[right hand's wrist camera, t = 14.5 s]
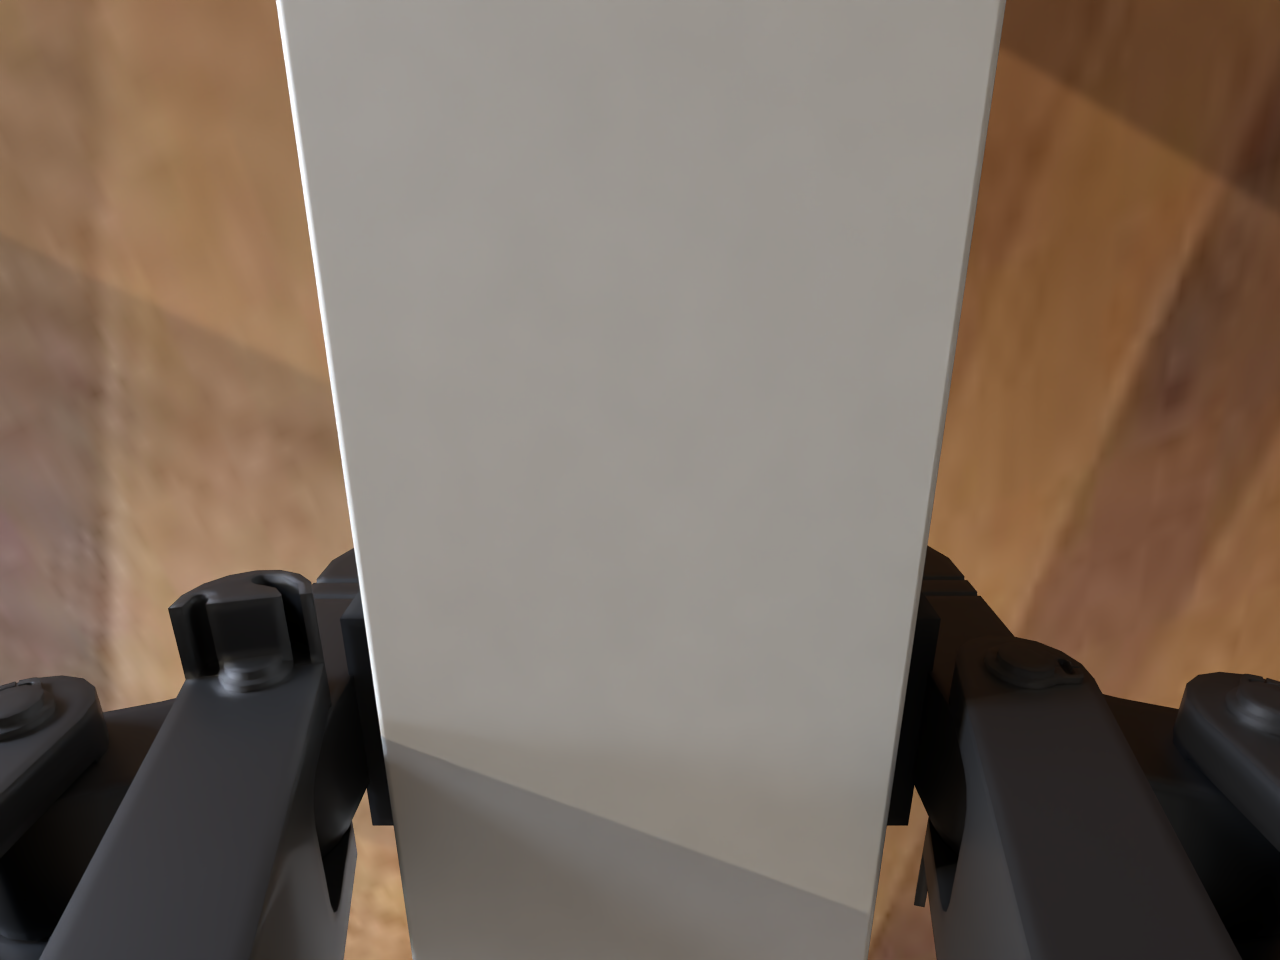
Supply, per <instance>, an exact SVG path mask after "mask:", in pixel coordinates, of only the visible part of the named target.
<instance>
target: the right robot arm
mask: <svg viewBox="0 0 1280 960" xmlns="http://www.w3.org/2000/svg"><path fill="white" fill-rule="evenodd" d="M168 610H169V614H170V618H171V622H172V626H173V630H174V634H175V638H176V642H177V646H178V650H179V654H180V658H181V662H182V666H183V670H184V674H185V678H186V681H185V682H184V684H183V686H182V688H181V690H180V692H179V694H178V696H177V698H174V699H170V700H166V701H162V702H157V703H151V704H146V705H141V706H135V707H130V708H125V709H119V710H114V711H109V712H102V709H101V705H100V702H99V699H98V695H97V692H96V689H95V687H94V686H93V685H92V684H90V683H89V682H88V681H86V680H85V679H83V678H76V677H69V676H53V677H43V678H37V677H36V678H29V679H24V680H19V683H16V682H12V683H9V684H5V685H2V686H0V960H343V959H344V952H345V944H346V936H347V929H348V921H349V913H350V905H351V898H352V890H353V882H354V875H355V867H356V859H357V849H356V842H355V835H354V830H353V824H352V819H353V817H354V814H355V812H356V810H357V808H358V806H359V804H360V801H361V799H362V797H363V795H364V793H365V790H366V788H367V793H368V799H369V805H370V812H371V818H372V824H373V825H394V824H393V817H392V809H391V802H390V795H389V788H388V781H387V774H386V767H385V760H384V753H383V746H382V739H381V732H380V725H379V718H378V711H377V704H376V697H375V690H374V683H373V676H372V669H371V662H370V655H369V648H368V641H367V634H366V627H365V620H364V613H363V606H362V599H361V592H360V585H359V578H358V571H357V564H356V557H355V550H354V548H353V549H351V550H350V551H348V552H346V553H344V554H343V555H341V556H339V557H338V558H336V559H334V560H332V561H331V563H330V564H329V565H328V566H327V568H326V569H325V570H324V571H323V572H322V574H321V575H320V576H319V577H318V578H317V583H313V584H312V585H311V582H310V581H309V580H308V579H306V578H305V577H303V576H302V575H301V574H297V573H293V572H288V571H283V570H257V571H251V572H245V573H239V574H234V575H229V576H226V577H223V578H220V579H217V580H214V581H211V582H208V583H205V584H202V585H200V586H198V587H197V588H195V589H193V590H191V591H189V592H187V593H185V594H184V595H182V596H181V597H180V598H179V599H178V600H176V601H175V602H174V603H173V604H172V605H171V606H170V607H169V608H168ZM914 785H915V787H916V789H917V792H918V794H919V796H920V798H921V800H922V803H923V805H924V807H925V809H926V811H927V813H928V816H929V818H928V824H927V830H926V835H925V841H924V847H923V853H922V859H921V865H920V870H919V876H918V882H917V888H916V895H915V902H914V905H916V906H921V907H925V902H926V896H927V891H928V896H929V904H930V911H931V919H932V927H933V934H934V942H935V950H936V957H937V960H1280V682H1279V681H1276V680H1272V679H1269V678H1267V679H1263V677H1261V676H1256V675H1251V674H1235V673H1225V672H1216V673H1209V674H1202V675H1198V676H1196V677H1195V678H1194V679H1192V680H1191V681H1189V682H1188V683H1187V684H1186V688H1185V691H1184V694H1183V698H1182V701H1181V704H1180V708H1179V709H1175V708H1170V707H1164V706H1159V705H1153V704H1148V703H1143V702H1137V701H1132V700H1127V699H1121V698H1117V697H1113V696H1109V695H1104V694H1102V692H1101V691H1100V689H1099V687H1098V685H1097V683H1096V681H1095V679H1094V678H1093V677H1092V676H1091V674H1090V673H1089V672H1088V671H1087V670H1086V669H1085V667H1084V666H1083V665H1082V664H1081V663H1079V662H1077V661H1076V660H1074V659H1073V658H1071V657H1070V656H1068V655H1066V654H1065V653H1063V652H1062V651H1060V650H1057V649H1054V648H1052V647H1049V646H1047V645H1044V644H1042V643H1039V642H1037V641H1032V640H1027V639H1022V638H1018V637H1014V635H1013V634H1012V633H1011V632H1010V631H1009V629H1008V628H1007V627H1006V626H1005V625H1004V623H1003V622H1002V621H1001V620H1000V619H999V618H998V616H997V615H996V614H995V613H994V612H993V610H992V609H991V608H990V607H989V606H988V604H987V603H986V602H985V601H984V600H983V598H982V597H981V596H977V591H976V590H975V589H974V588H973V586H972V585H971V584H970V583H969V582H968V580H964V576H963V574H962V573H961V572H960V571H959V570H958V568H957V567H956V566H955V565H954V564H953V562H952V561H951V560H950V559H949V558H948V557H946V556H944V555H943V554H941V553H939V552H938V551H936V550H934V549H932V548H931V547H929V546H927V550H926V557H925V564H924V571H923V578H922V585H921V592H920V599H919V606H918V613H917V620H916V626H915V633H914V640H913V647H912V654H911V661H910V668H909V675H908V682H907V689H906V696H905V702H904V709H903V716H902V723H901V730H900V737H899V744H898V751H897V758H896V765H895V772H894V778H893V785H892V792H891V799H890V806H889V813H888V820H887V825H908V821H909V815H910V809H911V803H912V796H913V790H914Z"/></svg>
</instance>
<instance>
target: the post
mask: <svg viewBox="0 0 1280 960" xmlns="http://www.w3.org/2000/svg"><path fill="white" fill-rule="evenodd" d="M276 3H277V10H278V17H279V24H280V31H281V38H282V45H283V52H284V59H285V66H286V73H287V80H288V87H289V94H290V101H291V108H292V115H293V122H294V129H295V136H296V144H297V151H298V158H299V165H300V172H301V179H302V186H303V193H304V200H305V207H306V214H307V221H308V228H309V235H310V242H311V249H312V256H313V263H314V270H315V277H316V284H317V291H318V298H319V305H320V312H321V319H322V326H323V333H324V340H325V347H326V354H327V361H328V368H329V375H330V382H331V389H332V396H333V403H334V410H335V417H336V424H337V431H338V438H339V445H340V452H341V459H342V466H343V473H344V480H345V487H346V494H347V501H348V508H349V515H350V522H351V529H352V536H353V543H354V550H355V557H356V564H357V571H358V578H359V585H360V592H361V599H362V606H363V613H364V620H365V627H366V634H367V641H368V648H369V655H370V662H371V669H372V676H373V683H374V690H375V697H376V704H377V711H378V718H379V725H380V732H381V739H382V746H383V753H384V760H385V767H386V774H387V781H388V788H389V795H390V802H391V809H392V817H393V824H394V831H395V838H396V845H397V852H398V859H399V866H400V873H401V880H402V887H403V894H404V901H405V908H406V915H407V922H408V929H409V936H410V943H411V950H412V957H413V960H867V958H868V951H869V944H870V937H871V930H872V924H873V917H874V910H875V903H876V896H877V889H878V882H879V875H880V868H881V861H882V854H883V848H884V841H885V834H886V827H887V820H888V813H889V806H890V799H891V792H892V785H893V778H894V772H895V765H896V758H897V751H898V744H899V737H900V730H901V723H902V716H903V709H904V702H905V696H906V689H907V682H908V675H909V668H910V661H911V654H912V647H913V640H914V633H915V626H916V620H917V613H918V606H919V599H920V592H921V585H922V578H923V571H924V564H925V557H926V550H927V544H928V537H929V530H930V523H931V516H932V509H933V502H934V495H935V488H936V481H937V474H938V468H939V461H940V454H941V447H942V440H943V433H944V426H945V419H946V412H947V405H948V399H949V392H950V385H951V378H952V371H953V364H954V357H955V350H956V343H957V336H958V329H959V323H960V316H961V309H962V302H963V295H964V288H965V281H966V274H967V267H968V260H969V253H970V247H971V240H972V233H973V226H974V219H975V212H976V205H977V198H978V191H979V184H980V177H981V171H982V164H983V157H984V150H985V143H986V136H987V129H988V122H989V115H990V108H991V101H992V95H993V88H994V81H995V74H996V67H997V60H998V53H999V46H1000V39H1001V32H1002V25H1003V19H1004V12H1005V5H1006V0H276Z"/></svg>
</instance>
